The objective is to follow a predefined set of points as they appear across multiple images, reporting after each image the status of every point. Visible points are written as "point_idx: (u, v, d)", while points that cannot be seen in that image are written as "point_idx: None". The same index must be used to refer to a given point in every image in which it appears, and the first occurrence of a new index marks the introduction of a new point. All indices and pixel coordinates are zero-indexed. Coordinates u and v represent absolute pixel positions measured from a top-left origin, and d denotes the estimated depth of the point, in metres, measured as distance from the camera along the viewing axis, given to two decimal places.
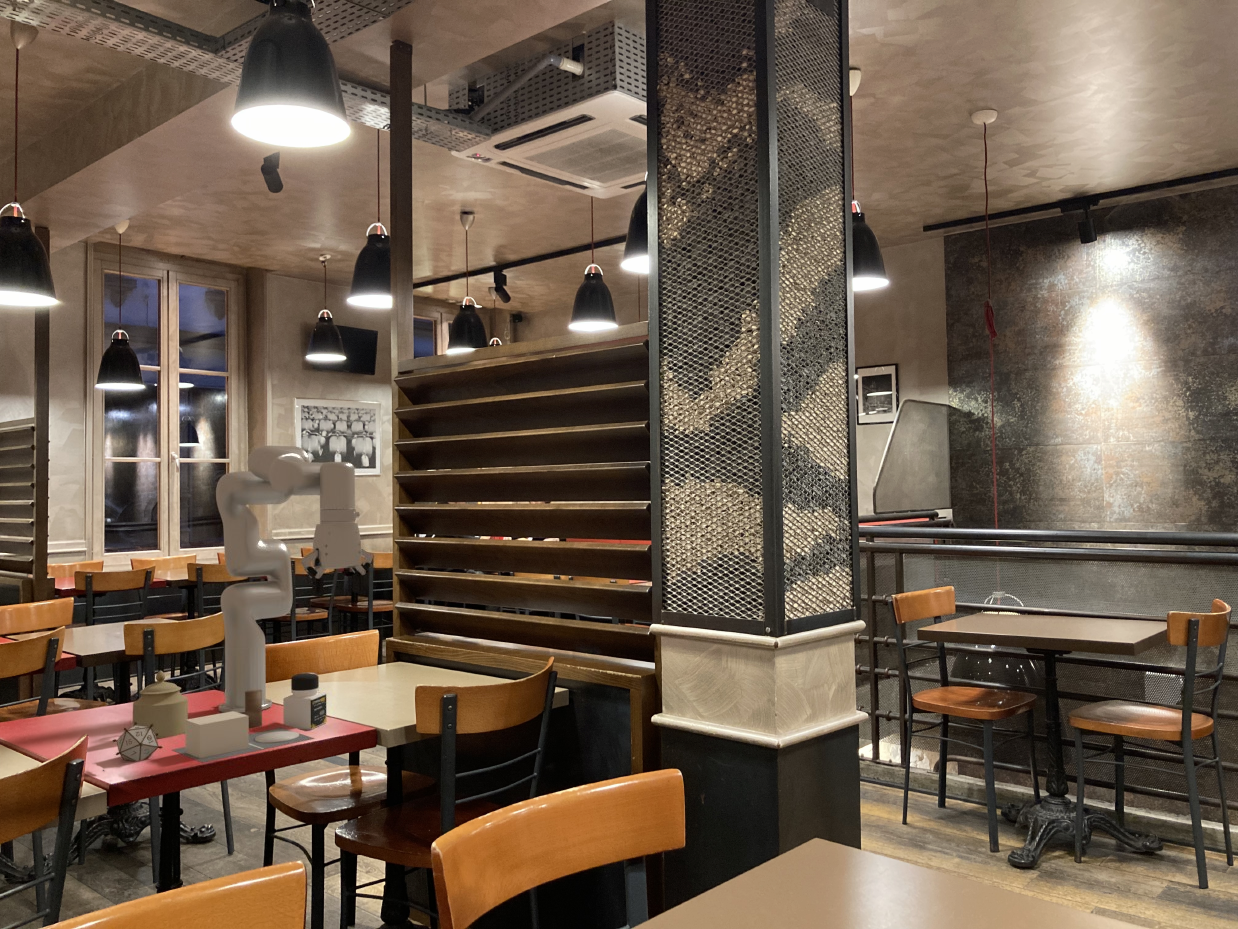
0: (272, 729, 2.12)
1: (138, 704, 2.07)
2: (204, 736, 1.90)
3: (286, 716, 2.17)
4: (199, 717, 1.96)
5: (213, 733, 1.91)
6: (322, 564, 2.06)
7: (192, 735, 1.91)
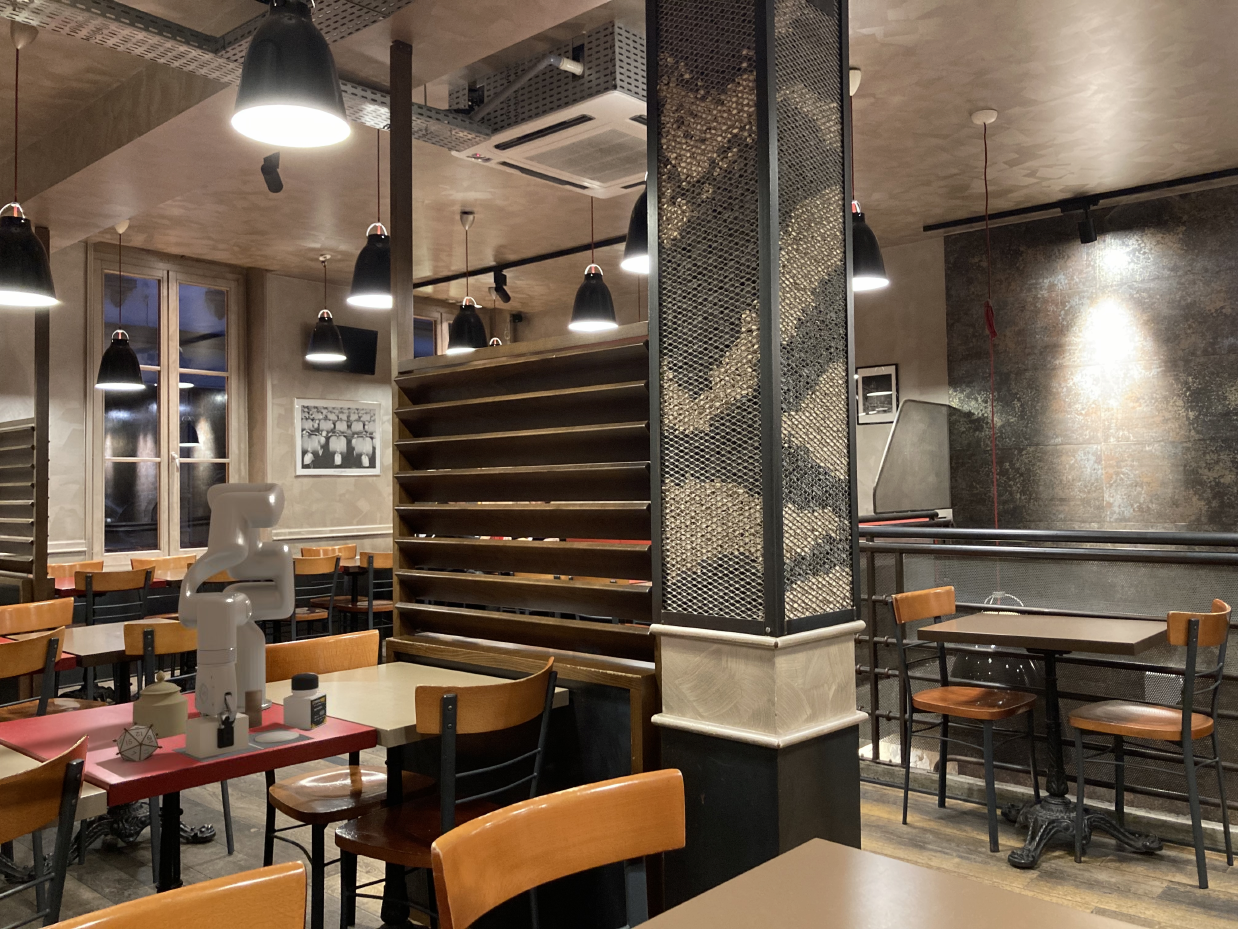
0: (272, 729, 2.12)
1: (138, 704, 2.07)
2: (204, 736, 1.90)
3: (286, 716, 2.17)
4: (199, 717, 1.96)
5: (213, 733, 1.91)
6: None
7: (192, 735, 1.91)
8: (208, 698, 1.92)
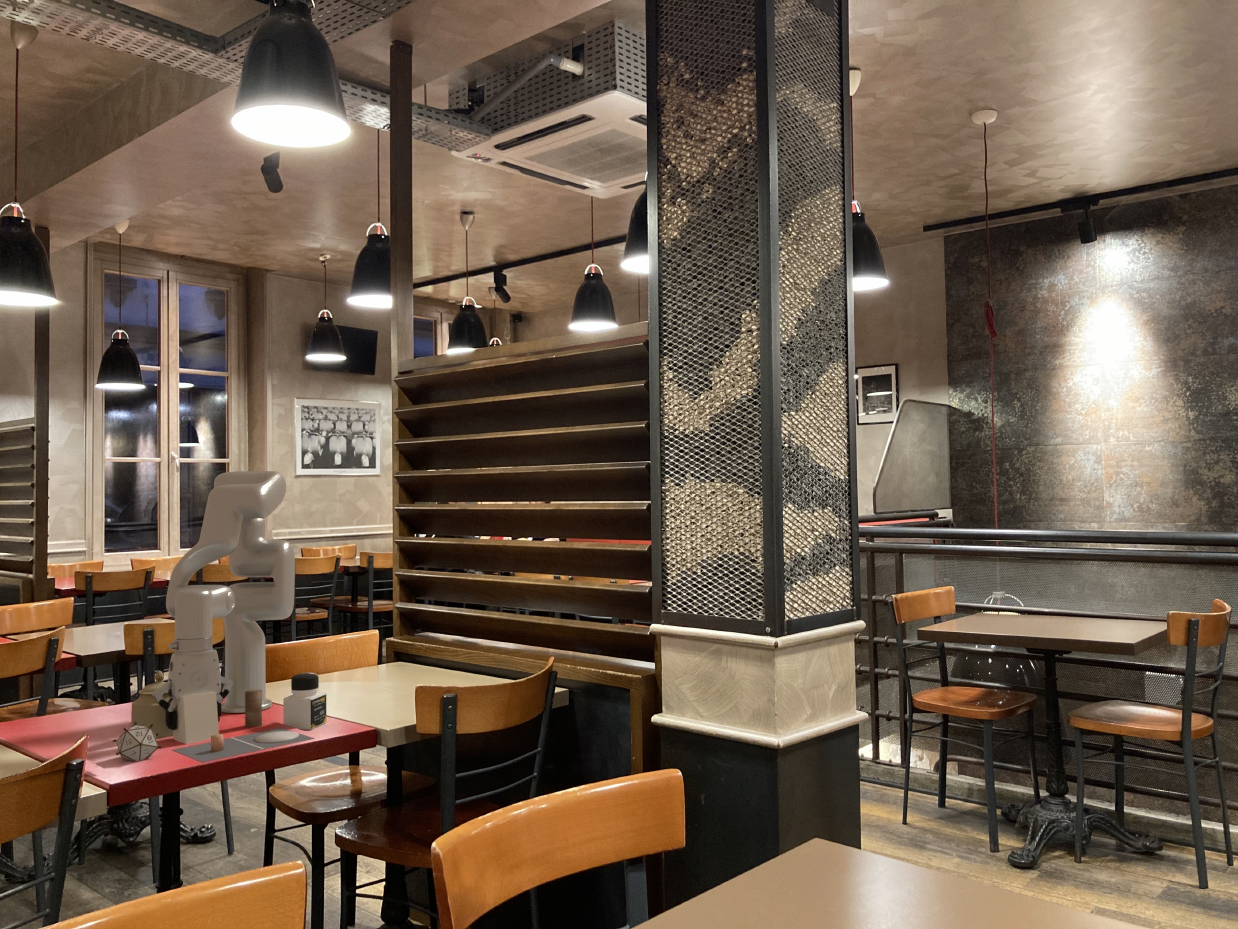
0: (272, 729, 2.12)
1: (136, 704, 2.07)
2: None
3: (286, 716, 2.17)
4: (186, 731, 2.01)
5: None
6: None
7: None
8: (209, 681, 2.07)
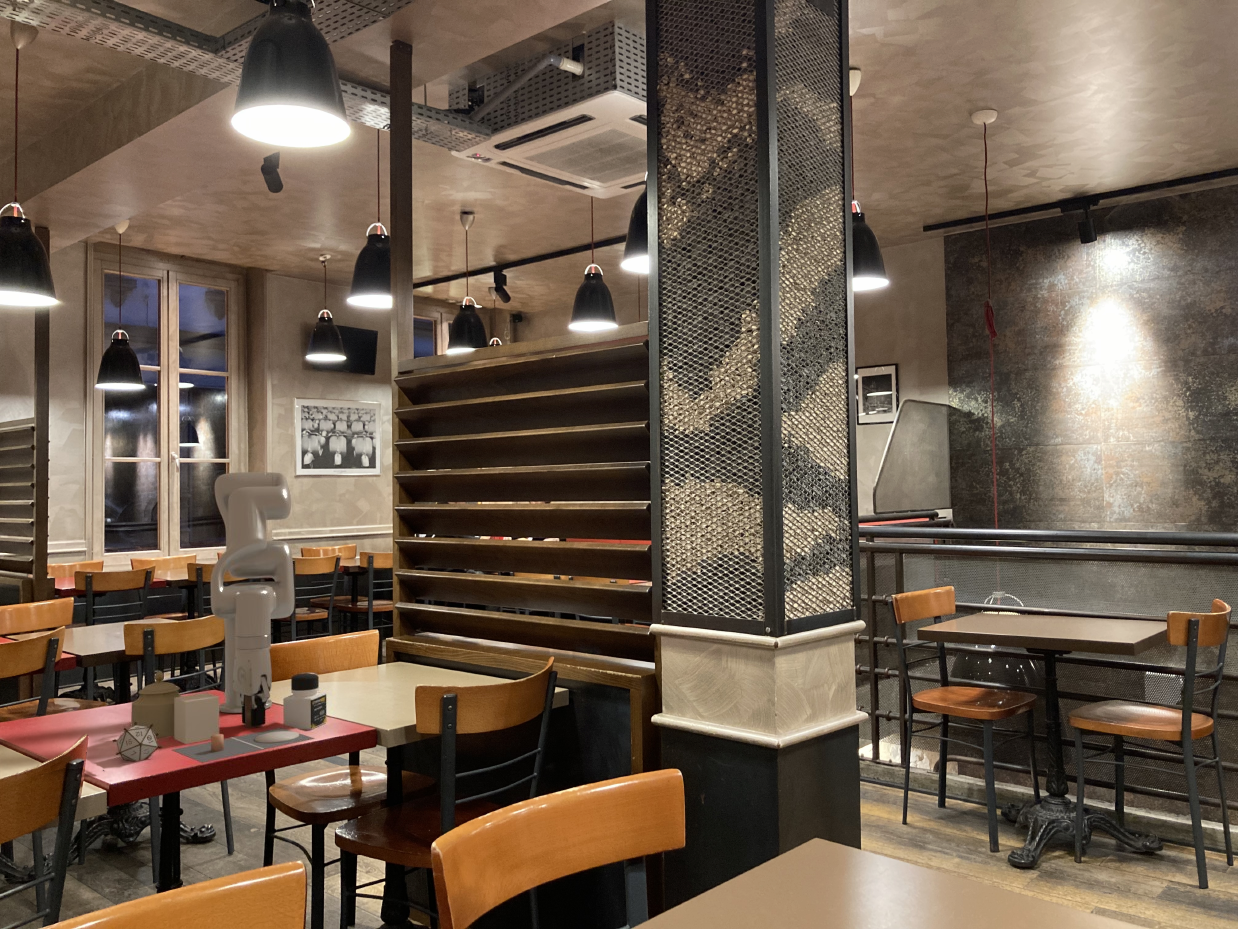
0: (272, 729, 2.12)
1: (136, 704, 2.07)
2: None
3: (286, 716, 2.17)
4: (186, 736, 2.01)
5: None
6: (270, 688, 2.14)
7: None
8: (246, 680, 2.13)
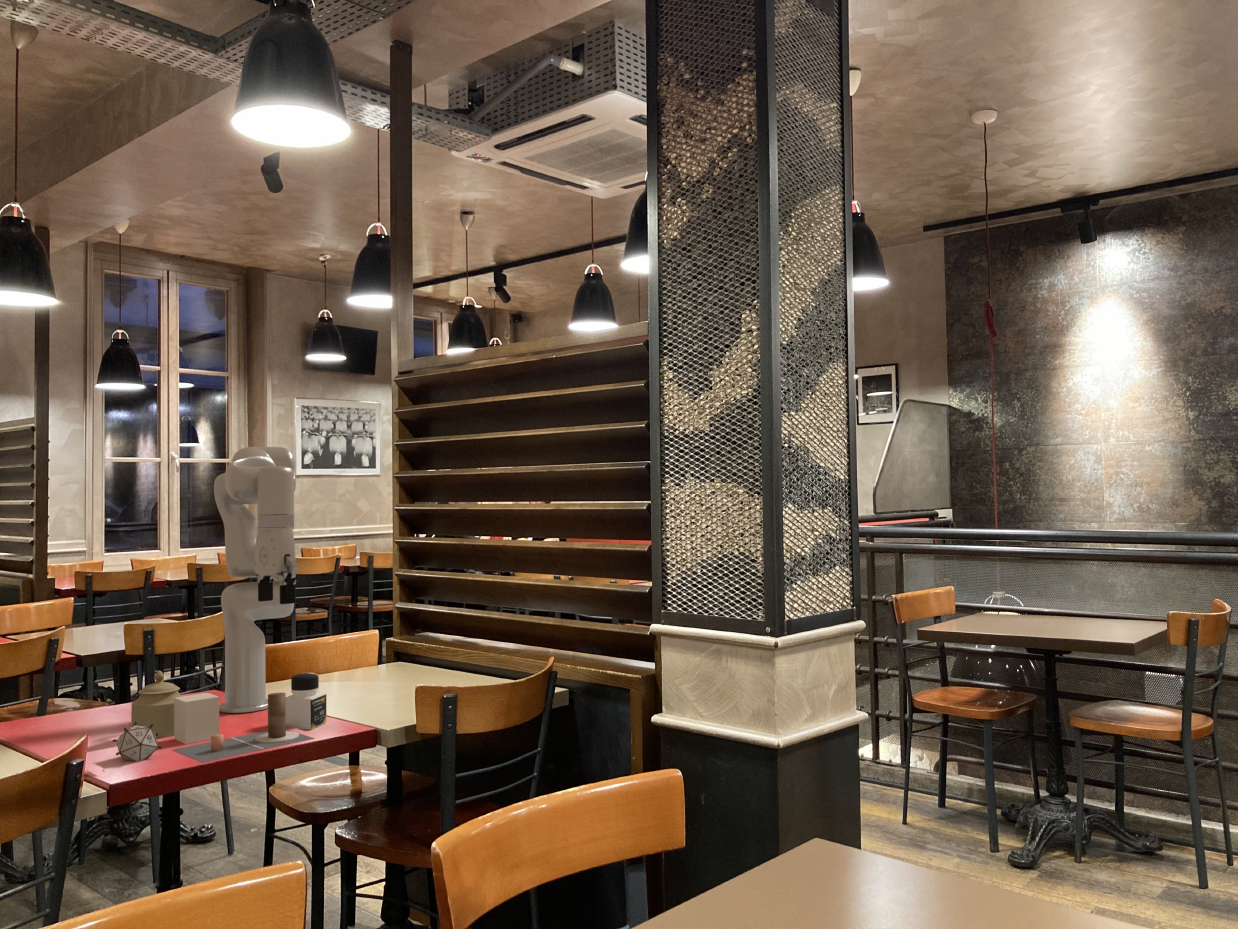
0: None
1: (136, 704, 2.07)
2: None
3: (286, 716, 2.17)
4: (186, 736, 2.01)
5: None
6: None
7: None
8: (269, 559, 2.02)
